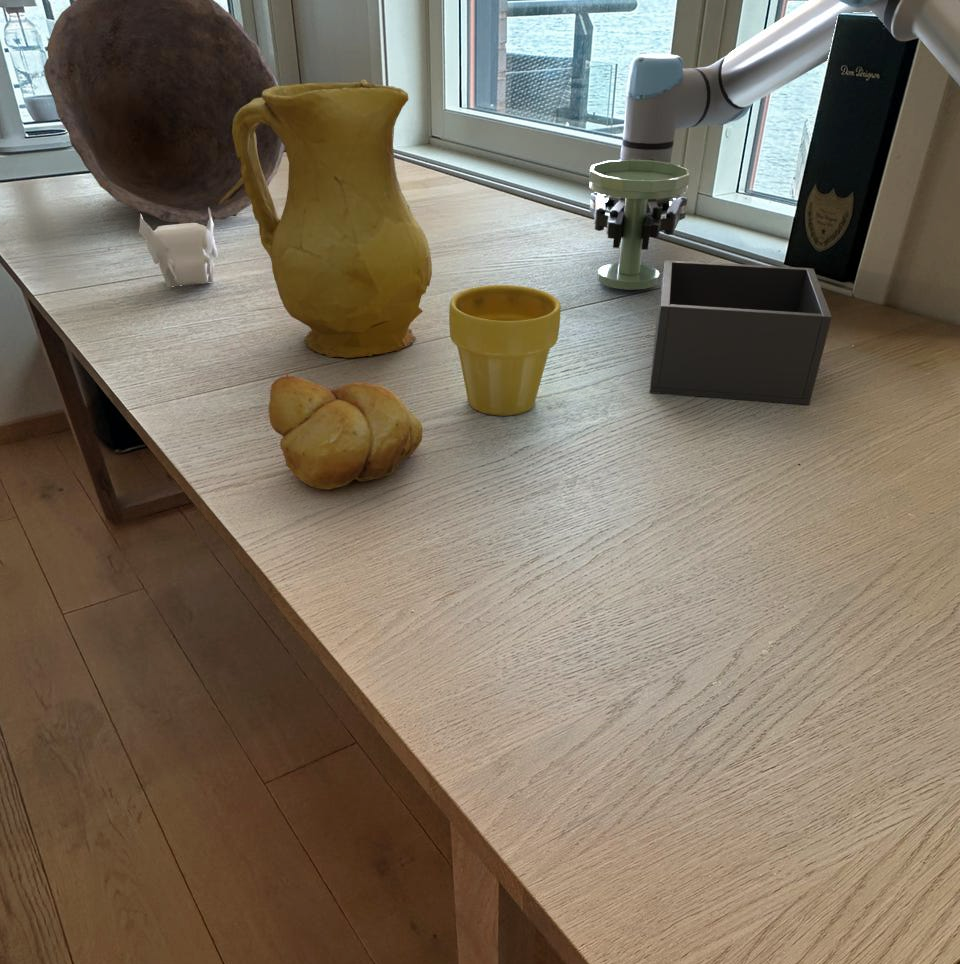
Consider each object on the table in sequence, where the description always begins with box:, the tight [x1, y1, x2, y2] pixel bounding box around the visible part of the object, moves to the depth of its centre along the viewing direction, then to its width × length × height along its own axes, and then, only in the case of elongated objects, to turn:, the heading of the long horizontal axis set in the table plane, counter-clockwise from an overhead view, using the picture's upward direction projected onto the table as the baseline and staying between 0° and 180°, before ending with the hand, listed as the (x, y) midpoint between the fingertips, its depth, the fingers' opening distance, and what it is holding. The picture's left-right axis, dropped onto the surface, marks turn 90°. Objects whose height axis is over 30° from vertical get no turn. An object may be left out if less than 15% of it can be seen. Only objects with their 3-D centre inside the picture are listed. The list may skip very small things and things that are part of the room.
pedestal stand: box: [588, 159, 691, 290], centre depth 109 cm, size 12×12×13 cm
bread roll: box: [267, 374, 423, 490], centre depth 71 cm, size 13×10×8 cm
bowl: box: [43, 0, 285, 224], centre depth 142 cm, size 34×35×30 cm
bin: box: [649, 259, 833, 406], centre depth 89 cm, size 16×16×9 cm
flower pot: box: [448, 284, 562, 417], centre depth 82 cm, size 10×10×10 cm
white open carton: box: [138, 207, 219, 288], centre depth 111 cm, size 10×12×9 cm
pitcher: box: [232, 79, 433, 359], centre depth 91 cm, size 17×19×25 cm
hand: (631, 236), depth 105 cm, fingers closed on pedestal stand, 3 cm apart
